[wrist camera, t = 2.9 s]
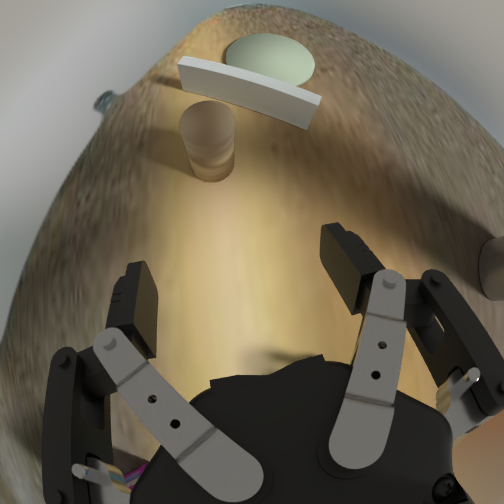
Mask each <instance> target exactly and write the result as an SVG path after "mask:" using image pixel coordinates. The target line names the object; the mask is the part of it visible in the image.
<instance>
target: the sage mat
mask: <svg viewBox="0 0 504 504" xmlns="http://www.w3.org/2000/svg"><path fill="white" fill-rule="evenodd" d="M226 64H227V65H229V66H233V67H237V68H241V69H244V70H248V71H251V72H255V73H258V74H261V75H264V76H267V77H271V78H274V79H277V80H280V81H282V82H285V83H288V84H291V85H294V86H296V87H298V86H300V85H303V84H304V83H306V82H307V81H308V80H309V79H310V78H311V76H312V74H313V71H314V67H315V63H314V59H313V57H312V55H311V54H310V52H309V51H308V50H307V49H306V48H305V47H304V46H302V45H301V44H300V43H298V42H296V41H294V40H292V39H290V38H288V37H284V36H281V35H276V34H267V33H260V34H252V35H248V36H245V37H242V38H240V39H238V40H236V41H235V42H234V43H232V44H231V45H230V47H229V48H228V50H227V53H226Z"/></svg>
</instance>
